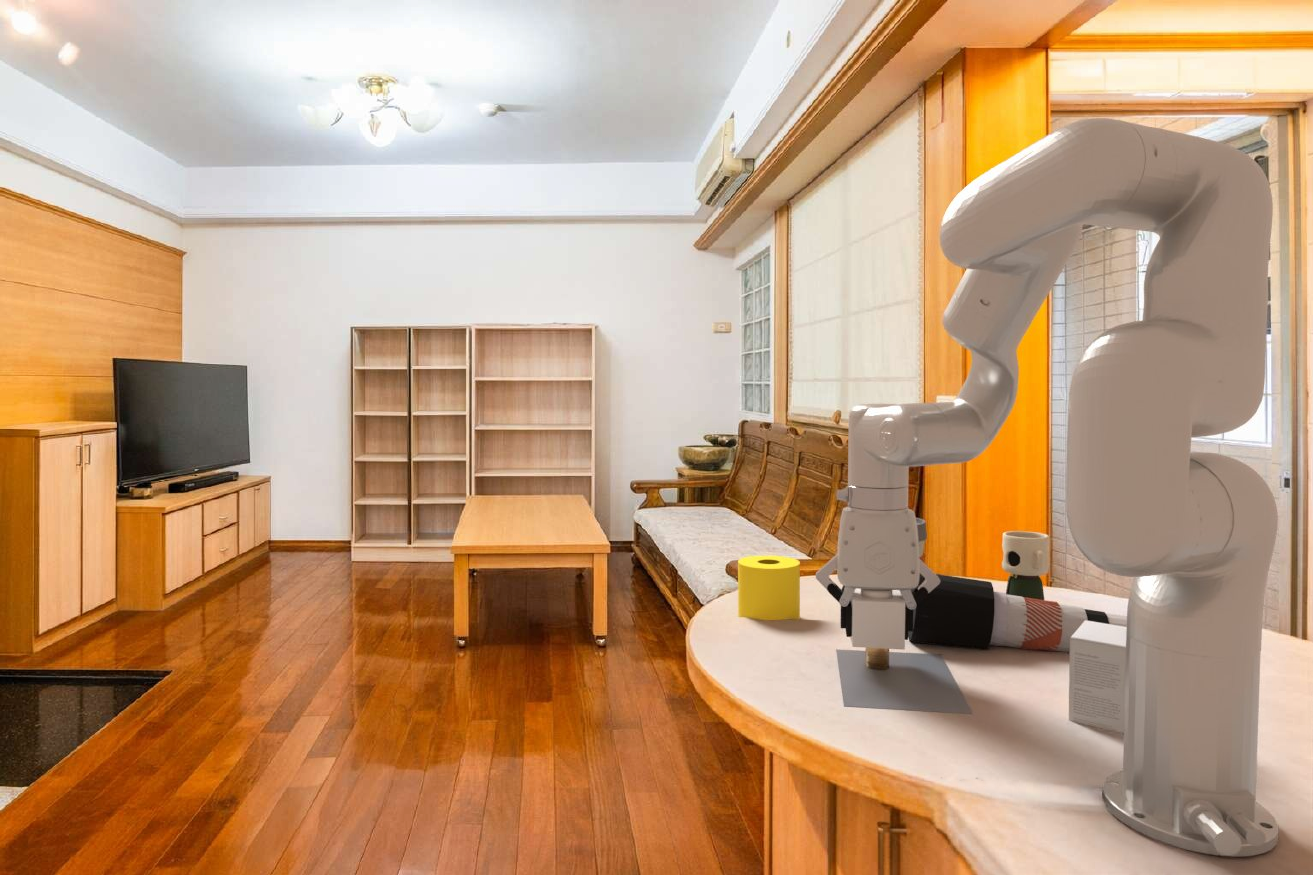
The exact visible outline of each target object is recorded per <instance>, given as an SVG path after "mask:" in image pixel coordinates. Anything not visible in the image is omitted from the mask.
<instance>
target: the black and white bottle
mask: <svg viewBox="0 0 1313 875" xmlns="http://www.w3.org/2000/svg"><path fill="white" fill-rule="evenodd" d="M935 574H936V575H937V576H938V577H939V579H940V584H939V585H938V586H936V587H935V588H934V589H933V590H932V591H931V592H930V593H928V595H927V596H926V597H925V598H924V599H923V600H922V601H921V602H920V603H919V604H917V605H916V608H915V609H913V632H909V631H908V640H909V642H911V643H912V642H915V643H919V644H920V643H921V644H929V645H935V646H944V647H954V648H963V649H973V650H975V649H976V650H984V651H988V650H989V648H990V646H994V647H1002V646H1005V647H1009V648H1016V649H1018V648H1019V649H1024V650H1037V651H1038V650H1041V651H1047V652H1065V653H1067V654H1068V655H1070V637H1071V636H1072V635H1073V634H1074V633H1075V632H1076V630H1077V629H1078V628H1079V627H1080V626H1081V624H1082V623H1083V622H1084V621H1085V620H1086V621H1093V622H1099V623H1105V624H1111V625H1117V626H1123V627H1127V615H1121V614H1114V613H1109V612H1105V611H1100V610H1094V609H1093V610H1092V609H1087V608H1084V607H1082V606H1081V607H1080V606H1074V605H1067V604H1061V603H1059V602H1058V601H1054V600H1046V599H1044V600H1039V599H1032V598H1025V597H1021V596H1014V595H1007V594H1006V592H1001V591H1000V592H999V591H995V590H994V589H995V588H994V586H993V583H992V582H991V581H986V580H982V579H981V580H979V579H973V578H966V577H959V576H952V575H945V574H940V573H935ZM924 581H925V577H924V576H923V575H921V574H920V577H919V584H918V586H919V585H921V584H922V583H923V582H924ZM918 586H917V587H918ZM917 587H915V588H913V589H911V592H912V591H913V590H914V589H916V588H917Z"/></svg>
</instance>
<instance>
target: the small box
mask: <svg viewBox="0 0 1313 875" xmlns="http://www.w3.org/2000/svg"><path fill="white" fill-rule="evenodd" d="M1126 630H1127V627H1123V626H1117V625H1111V624H1105V623H1099V622H1093V621H1086V620H1085V621H1084V622H1083V623H1082V624H1081V626H1080V627H1079V628H1078V629H1077V630H1076V632H1075V633H1074V634H1073V635H1072V636H1071V637H1070V654H1069V673H1068V674H1069V675H1068V676H1069V678H1068V680H1069V681H1068V682H1069V683H1068V685H1069V686H1068V721H1070V722H1074V723H1078V724H1081V725H1086V726H1090V727H1095V728H1099V729H1103V730H1109V731H1113V732H1117V733H1123V734H1124V703H1125V659H1126Z"/></svg>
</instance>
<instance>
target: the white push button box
mask: <svg viewBox="0 0 1313 875" xmlns="http://www.w3.org/2000/svg"><path fill="white" fill-rule="evenodd" d="M851 606H852V636H851V637H850V641H851V646H852V648H865V649H866V648H884V649H889V650H903V651H904V650H905V649H906V648H905V645H906V643H905V642H906V641H905V601H904V599H903V597H902V595H901V593H900V591H899V590H882V589H859V588H856V589H855V591H854V593H853V595H852V597H851Z"/></svg>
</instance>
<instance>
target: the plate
mask: <svg viewBox="0 0 1313 875" xmlns="http://www.w3.org/2000/svg"><path fill="white" fill-rule="evenodd" d="M835 652H836V660H837V667H838V672H839V674H838V675H839V680H840V687H841V688H840V689H841V694H842V695H841V696H842V702H843V703H842V704H843V707H845V708H846V707H847V708H863V709H881V710H896V711H915V712H928V713H929V712H931V713H945V714H963V715H967V714H968V715H974V713H973V711H972V709H971V707H970V705H969V703H968V702H967V699H966V698H965V696H964V694H963V693H962V691H961V688H960V687H959V684H958V683H957V681H956V679H955V677H954V675H953V673H952V672H951V670H950V668H949V666H948V664H947V663H946V660H945V659H944V657H943V655H942V654H941V653H940V654H939V653H924V652H923V653H920V652H918V653H917V652H902V651H900V652H899V651H889V668H888V669H886V670H873V669H870V668H867V667H866V666H865V650H857V649H856V650H855V649H854V650H853V649H835Z"/></svg>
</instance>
